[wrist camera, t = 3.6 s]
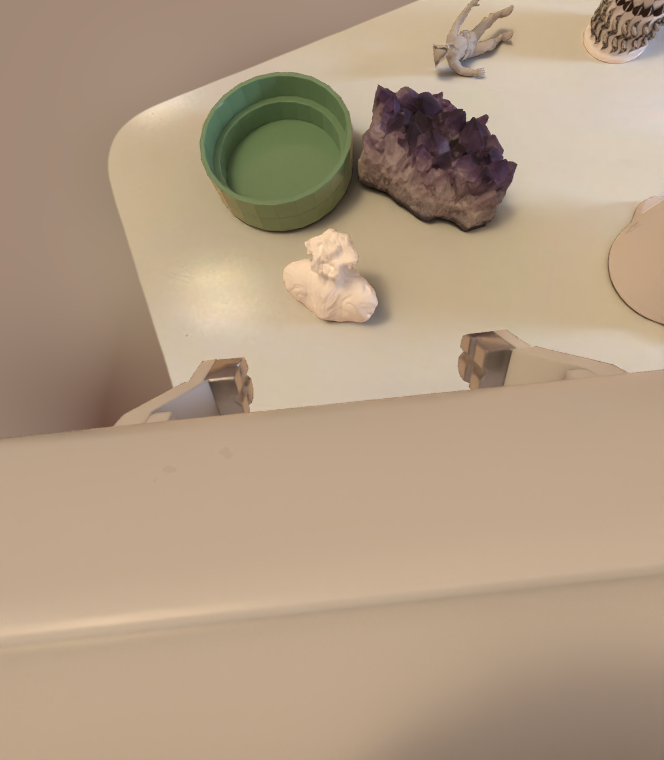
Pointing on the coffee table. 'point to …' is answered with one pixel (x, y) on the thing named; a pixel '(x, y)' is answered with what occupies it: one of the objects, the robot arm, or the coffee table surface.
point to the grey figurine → (469, 41)
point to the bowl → (279, 150)
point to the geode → (434, 158)
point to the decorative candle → (623, 29)
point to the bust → (331, 280)
